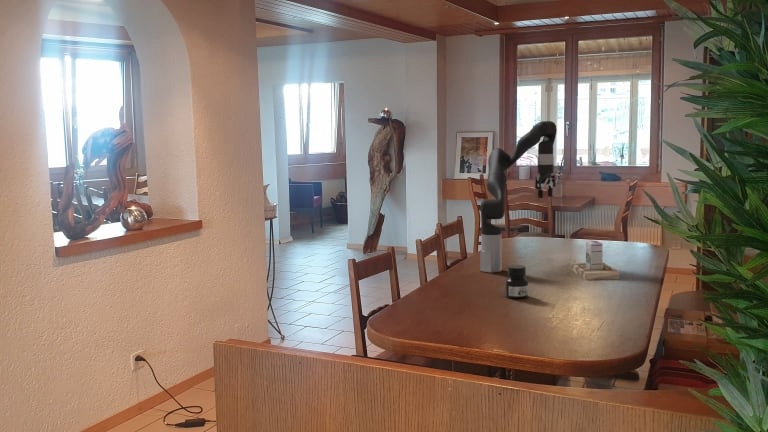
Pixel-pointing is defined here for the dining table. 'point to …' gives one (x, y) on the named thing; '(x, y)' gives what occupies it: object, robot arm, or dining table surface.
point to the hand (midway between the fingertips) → (545, 197)
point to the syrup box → (594, 255)
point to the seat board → (595, 272)
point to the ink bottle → (516, 282)
